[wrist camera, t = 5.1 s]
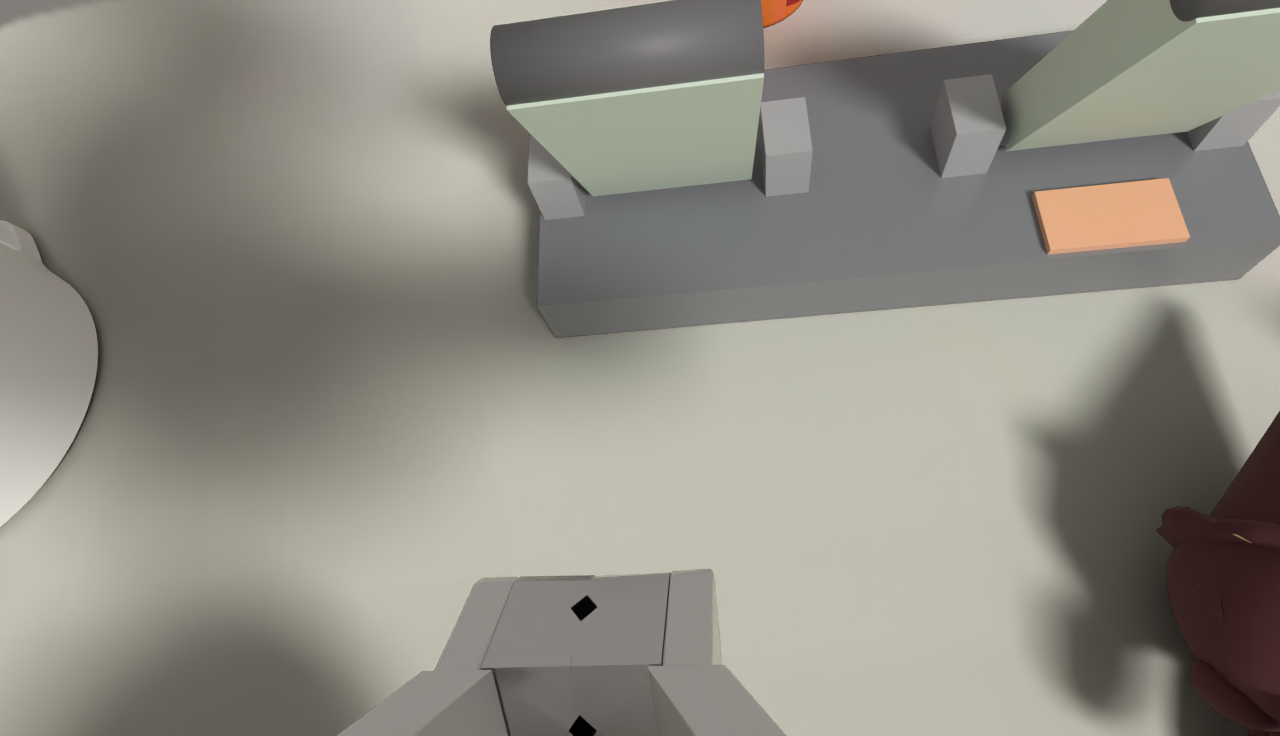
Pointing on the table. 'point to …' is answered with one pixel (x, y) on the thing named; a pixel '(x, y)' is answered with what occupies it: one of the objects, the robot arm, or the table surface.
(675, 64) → the lever
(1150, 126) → the lever
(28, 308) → the robot arm
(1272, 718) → the icecream
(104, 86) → the table surface
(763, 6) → the paper cup
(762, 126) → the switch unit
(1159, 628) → the table surface
